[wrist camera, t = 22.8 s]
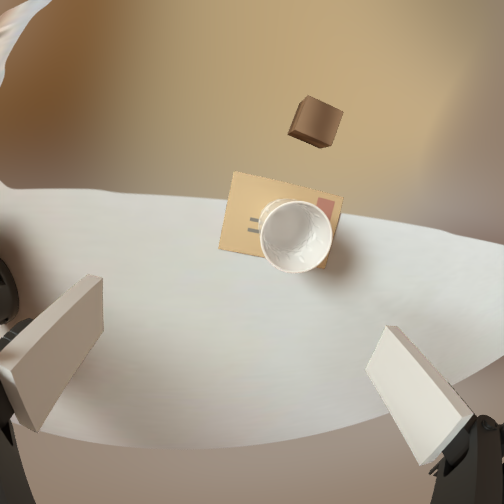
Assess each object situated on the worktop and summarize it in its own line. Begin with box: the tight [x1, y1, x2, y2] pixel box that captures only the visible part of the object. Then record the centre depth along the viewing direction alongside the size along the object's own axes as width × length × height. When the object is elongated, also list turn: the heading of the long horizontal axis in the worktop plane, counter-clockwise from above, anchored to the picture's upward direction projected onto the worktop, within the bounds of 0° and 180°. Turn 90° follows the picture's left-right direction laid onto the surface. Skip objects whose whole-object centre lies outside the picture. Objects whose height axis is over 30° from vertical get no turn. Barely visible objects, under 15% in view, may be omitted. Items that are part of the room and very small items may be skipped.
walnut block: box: [288, 96, 343, 148], centre depth 34 cm, size 5×5×5 cm
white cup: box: [258, 199, 333, 273], centre depth 35 cm, size 8×8×10 cm
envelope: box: [218, 171, 343, 269], centre depth 39 cm, size 16×11×1 cm
